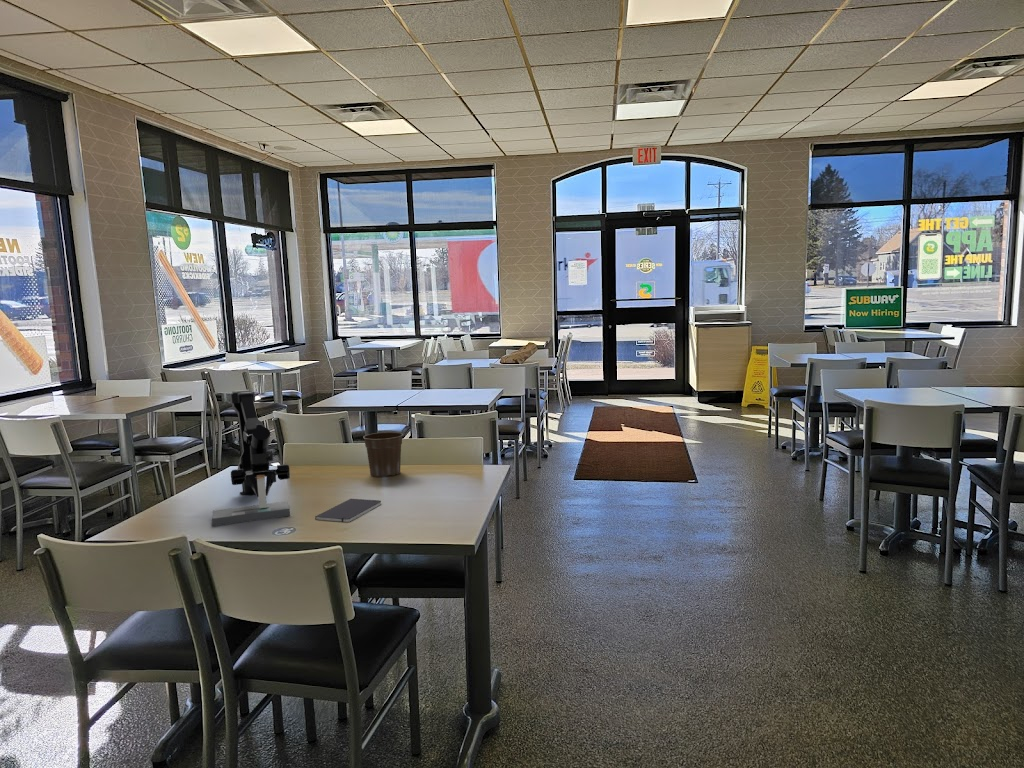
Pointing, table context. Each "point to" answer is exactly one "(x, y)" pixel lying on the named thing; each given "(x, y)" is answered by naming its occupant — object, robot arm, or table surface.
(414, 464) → the table surface
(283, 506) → the switch housing
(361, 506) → the notebook
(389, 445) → the plant pot
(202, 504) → the table surface
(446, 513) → the table surface
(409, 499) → the table surface
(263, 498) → the slide lever
